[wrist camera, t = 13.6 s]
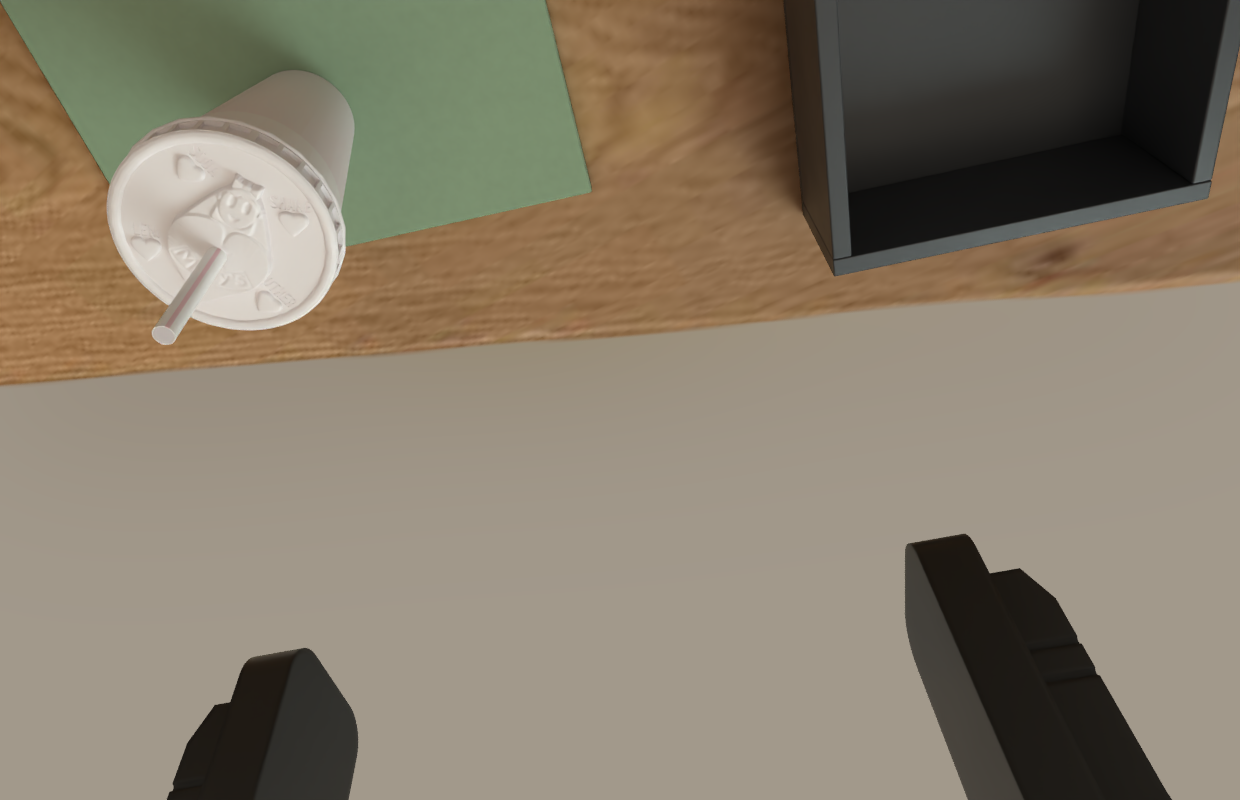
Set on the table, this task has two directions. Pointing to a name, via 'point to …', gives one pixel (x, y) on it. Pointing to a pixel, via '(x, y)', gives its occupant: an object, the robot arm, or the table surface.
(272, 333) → the table surface
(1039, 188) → the dark gray open box
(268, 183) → the smoothie
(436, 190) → the mat
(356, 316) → the table surface
